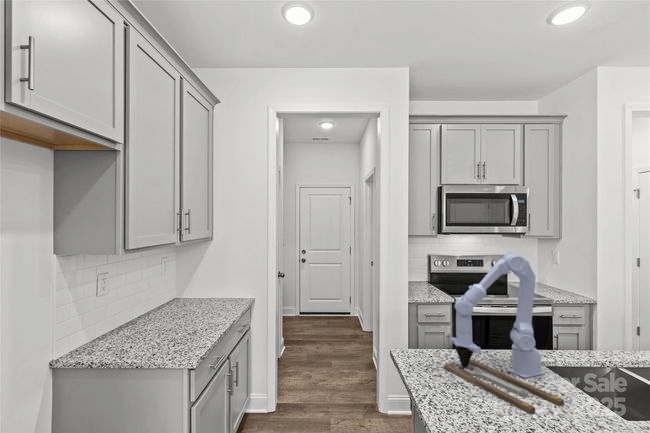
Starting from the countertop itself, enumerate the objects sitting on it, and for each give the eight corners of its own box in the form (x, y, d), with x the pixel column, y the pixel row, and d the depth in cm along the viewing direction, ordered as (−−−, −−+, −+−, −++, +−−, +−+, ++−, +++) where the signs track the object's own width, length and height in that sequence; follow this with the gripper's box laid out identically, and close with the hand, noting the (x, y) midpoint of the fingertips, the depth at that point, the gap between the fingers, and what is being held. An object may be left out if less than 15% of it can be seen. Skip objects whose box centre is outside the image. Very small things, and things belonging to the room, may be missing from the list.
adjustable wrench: (530, 397, 119) (530, 391, 119) (515, 400, 117) (515, 395, 117) (473, 369, 142) (472, 364, 142) (459, 372, 140) (459, 367, 140)
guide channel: (472, 363, 148) (472, 359, 148) (564, 405, 113) (564, 399, 113) (443, 368, 143) (443, 364, 143) (530, 414, 108) (529, 408, 108)
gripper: (443, 327, 148) (444, 362, 147) (469, 337, 134) (470, 375, 134) (457, 325, 150) (458, 359, 150) (484, 335, 137) (485, 372, 136)
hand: (465, 366), depth 142 cm, fingers closed
